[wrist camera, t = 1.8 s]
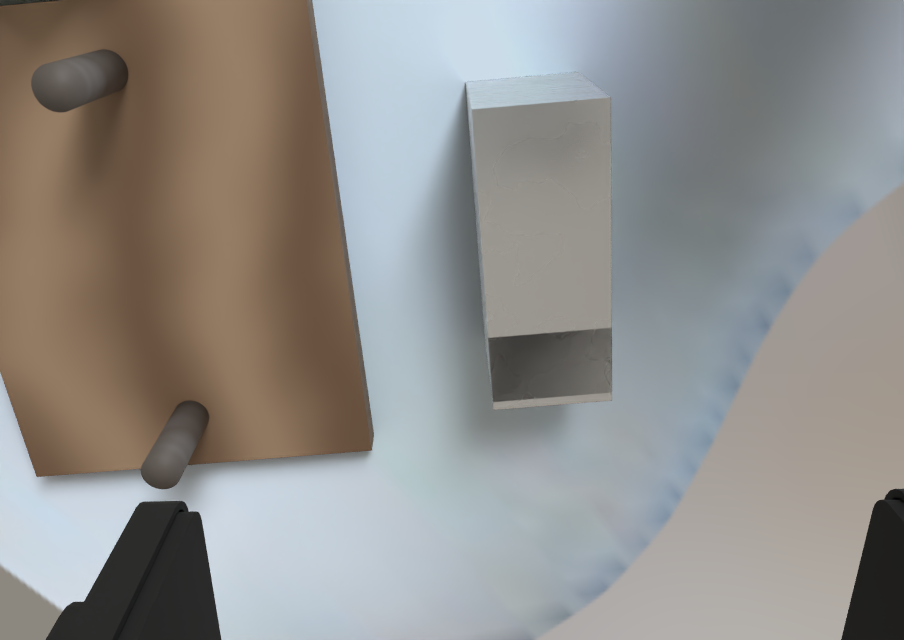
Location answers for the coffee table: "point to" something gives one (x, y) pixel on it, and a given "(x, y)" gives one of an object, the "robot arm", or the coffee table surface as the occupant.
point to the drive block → (543, 236)
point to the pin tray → (172, 238)
